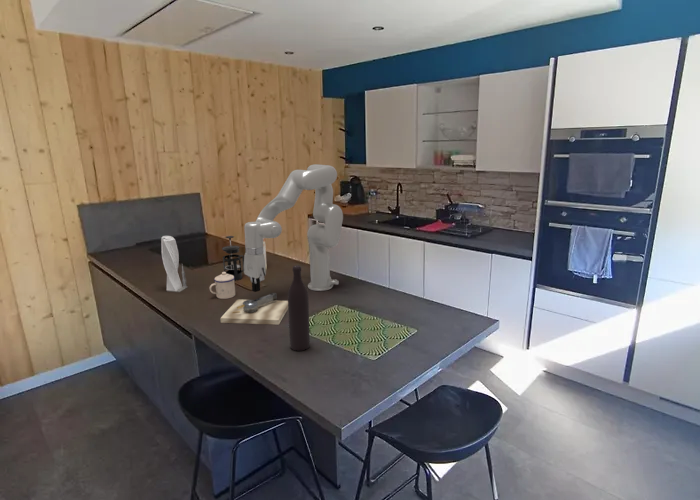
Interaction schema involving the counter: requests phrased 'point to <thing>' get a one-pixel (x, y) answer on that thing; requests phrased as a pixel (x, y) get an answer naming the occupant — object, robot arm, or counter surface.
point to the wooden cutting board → (256, 313)
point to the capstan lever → (257, 302)
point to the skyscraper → (172, 264)
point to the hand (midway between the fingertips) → (256, 290)
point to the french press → (233, 268)
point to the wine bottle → (298, 312)
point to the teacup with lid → (224, 286)
